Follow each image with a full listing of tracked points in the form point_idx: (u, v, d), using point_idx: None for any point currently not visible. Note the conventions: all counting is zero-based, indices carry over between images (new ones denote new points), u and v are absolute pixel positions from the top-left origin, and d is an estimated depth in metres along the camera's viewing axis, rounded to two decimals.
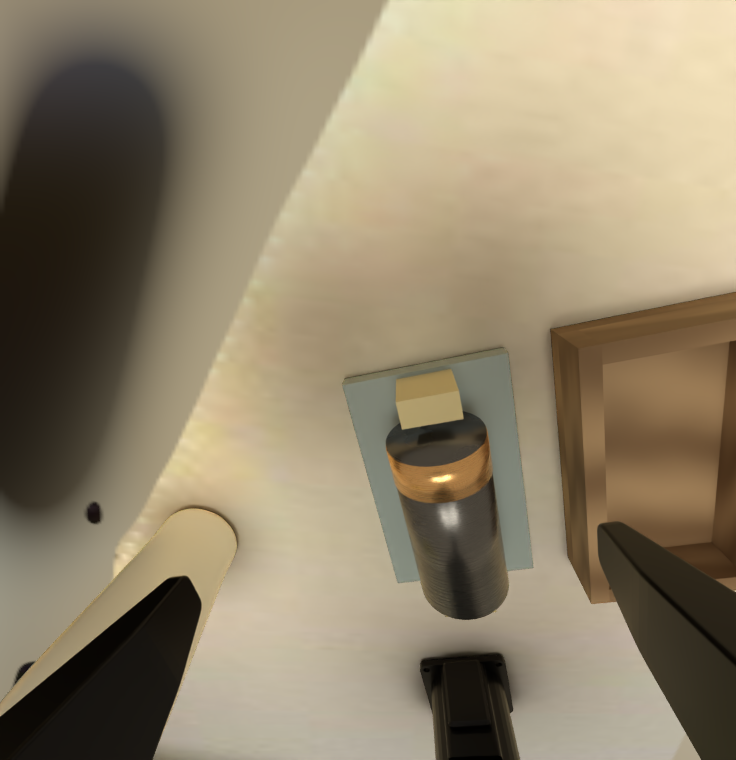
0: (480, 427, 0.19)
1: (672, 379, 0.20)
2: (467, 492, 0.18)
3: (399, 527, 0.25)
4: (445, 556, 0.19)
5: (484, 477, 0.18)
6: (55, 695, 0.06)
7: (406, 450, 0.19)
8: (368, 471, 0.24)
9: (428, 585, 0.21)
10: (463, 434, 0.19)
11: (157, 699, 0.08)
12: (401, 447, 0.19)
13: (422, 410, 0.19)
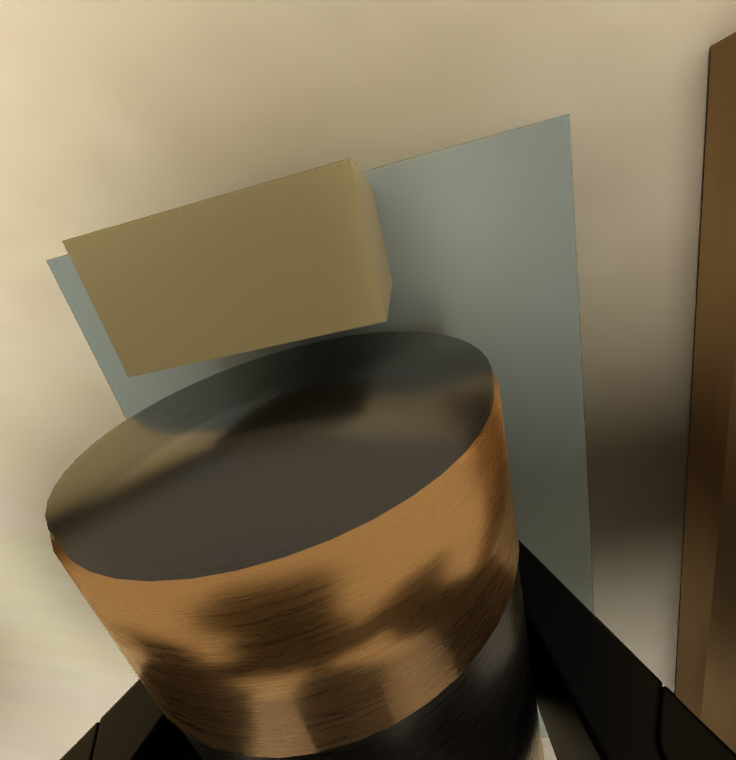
0: (466, 367, 0.04)
1: None
2: (392, 705, 0.03)
3: None
4: None
5: (483, 606, 0.04)
6: None
7: (122, 469, 0.04)
8: None
9: None
10: (388, 396, 0.04)
11: None
12: (123, 454, 0.04)
13: (193, 281, 0.04)
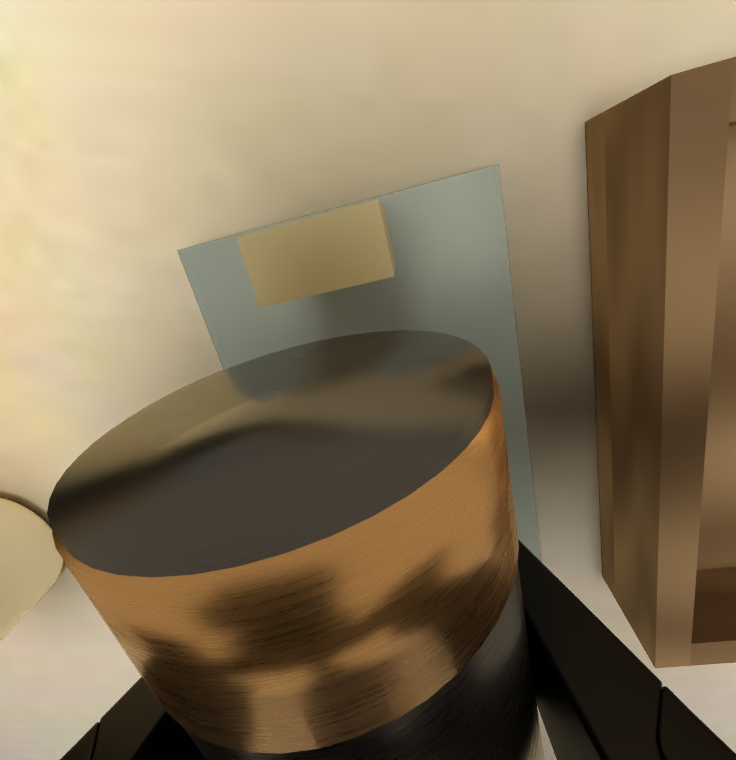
0: (466, 366, 0.04)
1: None
2: (393, 699, 0.03)
3: None
4: None
5: (483, 603, 0.04)
6: None
7: (123, 467, 0.04)
8: None
9: None
10: (388, 394, 0.04)
11: None
12: (124, 452, 0.04)
13: (299, 257, 0.08)
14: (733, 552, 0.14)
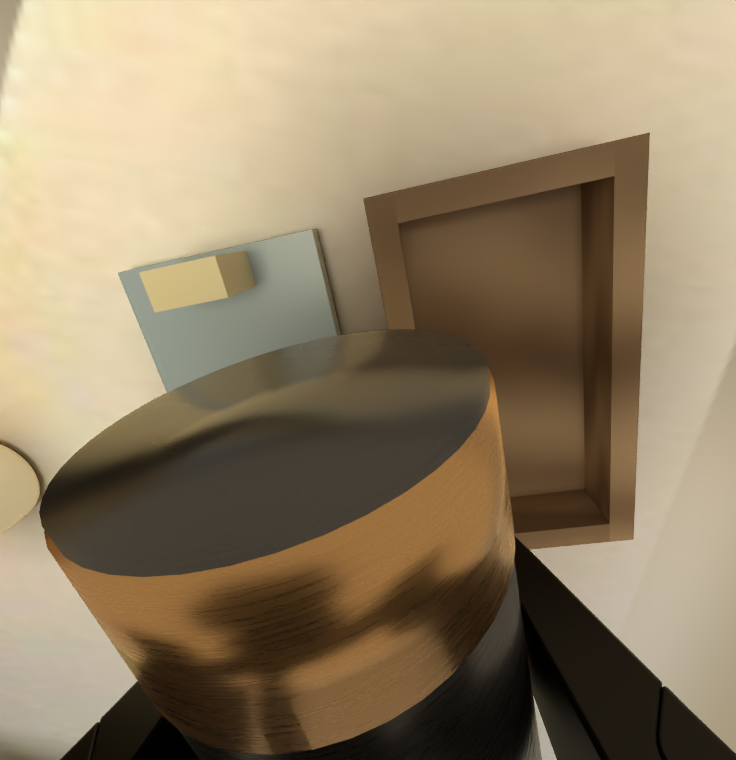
0: (462, 364, 0.04)
1: (516, 268, 0.16)
2: (386, 701, 0.03)
3: None
4: None
5: (478, 602, 0.04)
6: None
7: (117, 466, 0.04)
8: (169, 390, 0.19)
9: None
10: (384, 393, 0.04)
11: None
12: (119, 451, 0.04)
13: (174, 284, 0.14)
14: None
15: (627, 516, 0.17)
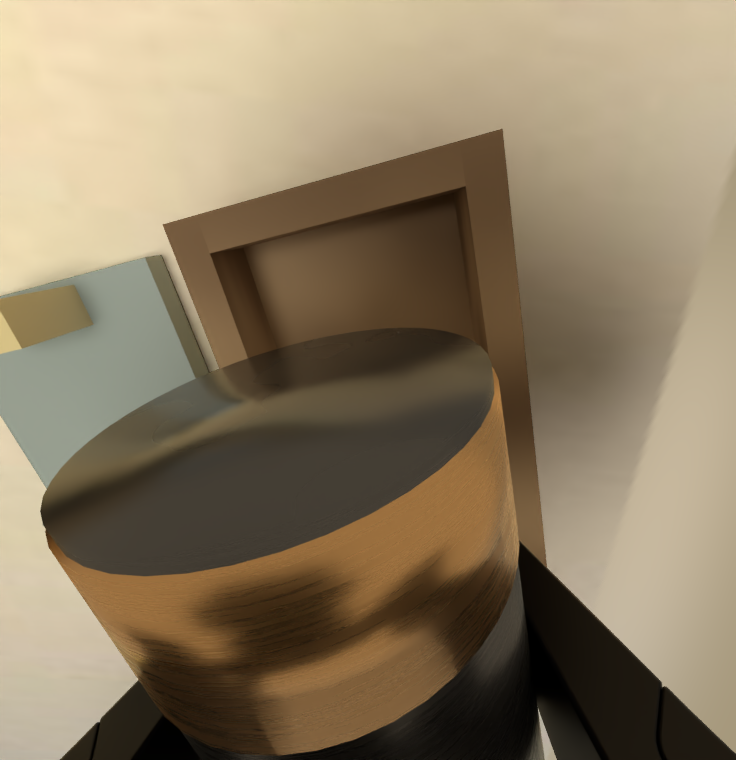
0: (466, 362, 0.04)
1: (390, 296, 0.13)
2: (391, 702, 0.03)
3: None
4: None
5: (483, 602, 0.04)
6: None
7: (118, 465, 0.04)
8: (21, 443, 0.17)
9: None
10: (387, 391, 0.04)
11: None
12: (120, 450, 0.04)
13: None
14: None
15: None
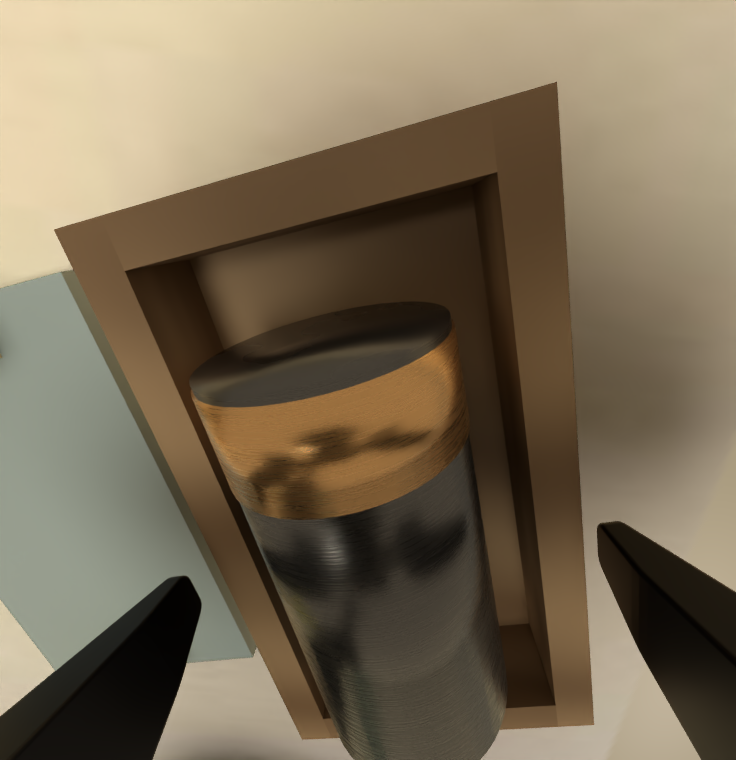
0: (436, 318, 0.07)
1: None
2: (379, 494, 0.06)
3: (20, 591, 0.15)
4: (337, 654, 0.08)
5: (435, 452, 0.06)
6: (55, 695, 0.06)
7: (228, 371, 0.07)
8: None
9: (321, 694, 0.10)
10: (386, 333, 0.07)
11: (157, 699, 0.08)
12: (225, 366, 0.07)
13: None
14: None
15: (581, 696, 0.11)
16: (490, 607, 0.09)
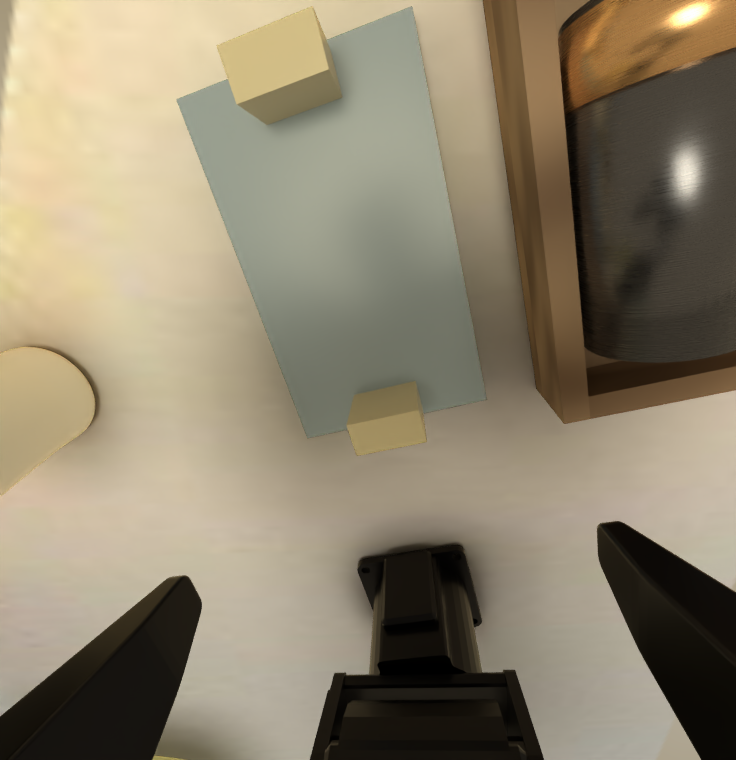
0: None
1: None
2: (735, 38, 0.09)
3: (296, 347, 0.18)
4: (652, 218, 0.11)
5: None
6: (55, 695, 0.06)
7: None
8: (239, 254, 0.17)
9: (600, 310, 0.13)
10: None
11: (157, 699, 0.08)
12: None
13: (261, 58, 0.12)
14: None
15: None
16: None
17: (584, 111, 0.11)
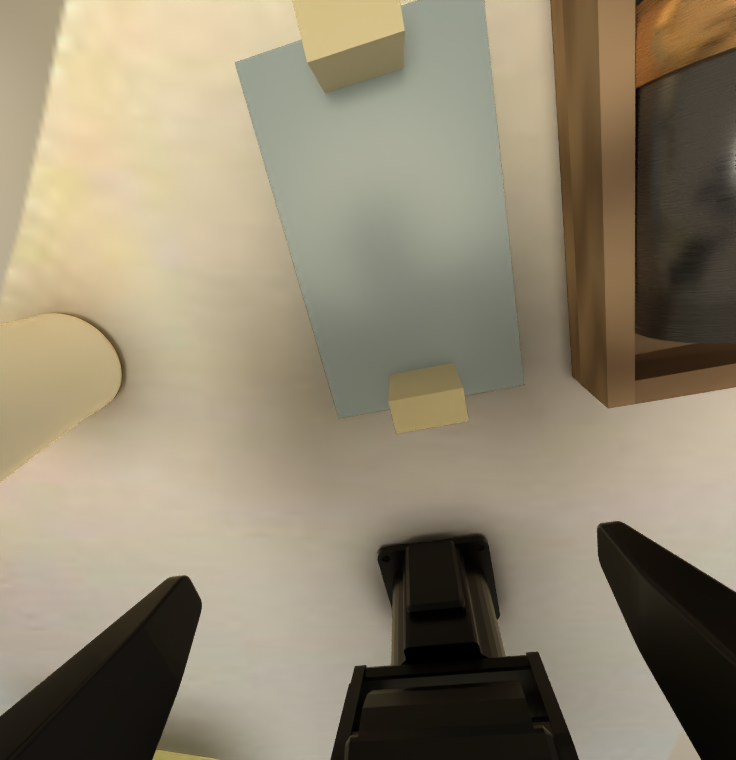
0: None
1: None
2: None
3: (335, 323, 0.18)
4: (716, 194, 0.11)
5: None
6: (55, 695, 0.06)
7: None
8: (285, 225, 0.17)
9: (652, 290, 0.13)
10: None
11: (157, 699, 0.08)
12: None
13: (337, 16, 0.11)
14: None
15: None
16: None
17: (651, 87, 0.11)
